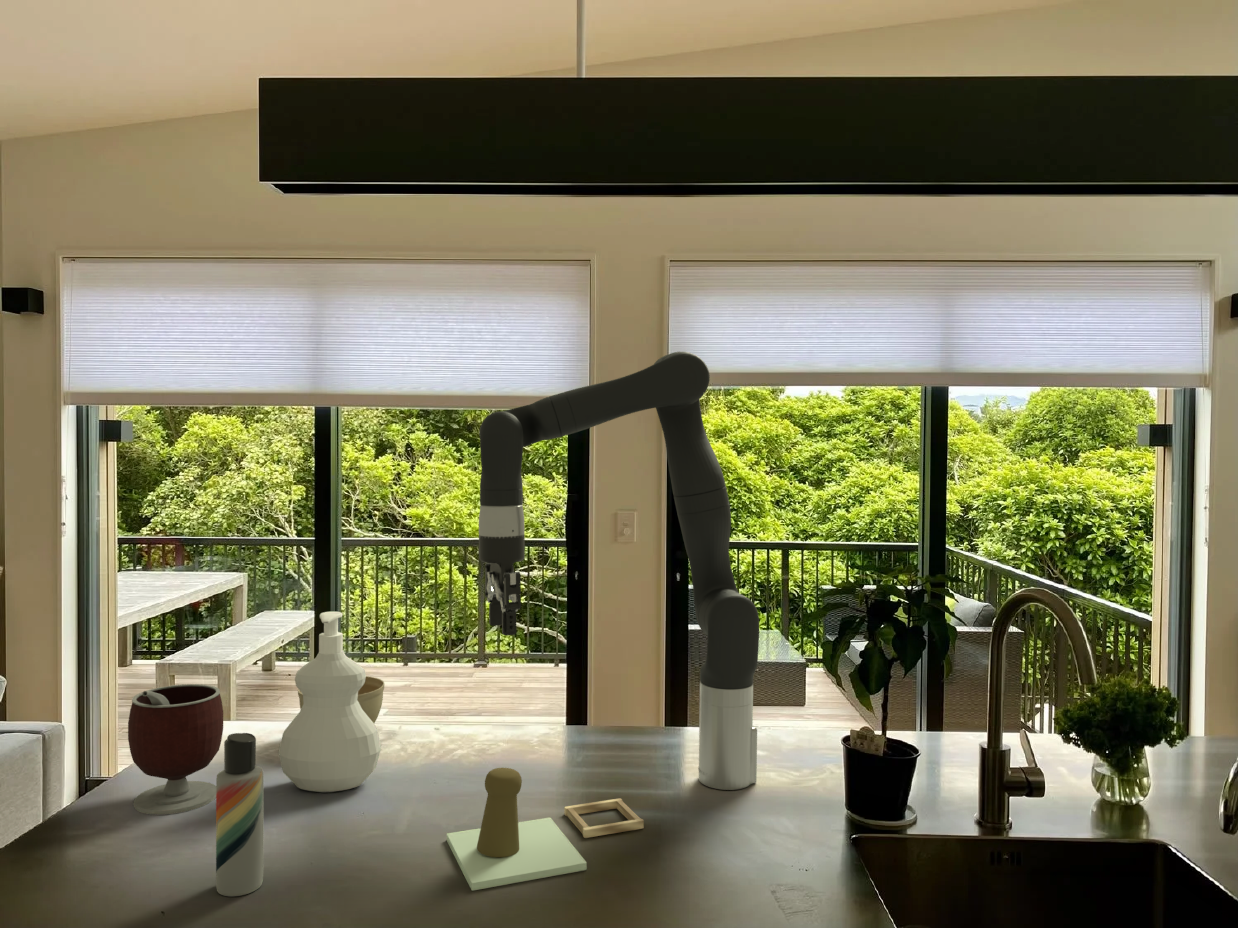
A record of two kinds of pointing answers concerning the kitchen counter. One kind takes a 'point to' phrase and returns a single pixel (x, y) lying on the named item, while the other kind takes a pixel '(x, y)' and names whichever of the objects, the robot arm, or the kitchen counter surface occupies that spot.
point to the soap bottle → (330, 721)
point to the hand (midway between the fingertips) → (502, 629)
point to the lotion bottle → (239, 818)
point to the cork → (500, 814)
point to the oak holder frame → (606, 828)
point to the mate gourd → (175, 744)
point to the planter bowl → (366, 697)
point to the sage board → (517, 856)
